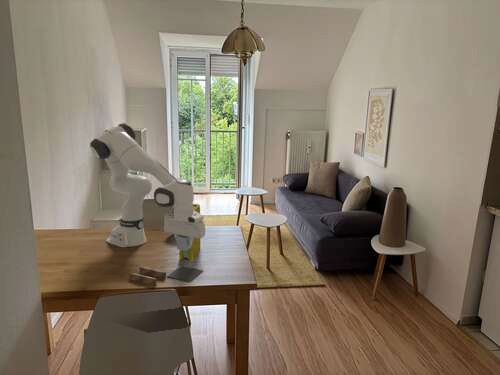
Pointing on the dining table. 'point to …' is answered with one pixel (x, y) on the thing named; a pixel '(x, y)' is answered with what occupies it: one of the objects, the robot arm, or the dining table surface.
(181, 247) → the blank
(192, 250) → the book
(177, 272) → the mat
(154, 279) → the shelf slot
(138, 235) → the robot arm
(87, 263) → the dining table surface
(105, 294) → the dining table surface
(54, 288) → the dining table surface
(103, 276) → the dining table surface
